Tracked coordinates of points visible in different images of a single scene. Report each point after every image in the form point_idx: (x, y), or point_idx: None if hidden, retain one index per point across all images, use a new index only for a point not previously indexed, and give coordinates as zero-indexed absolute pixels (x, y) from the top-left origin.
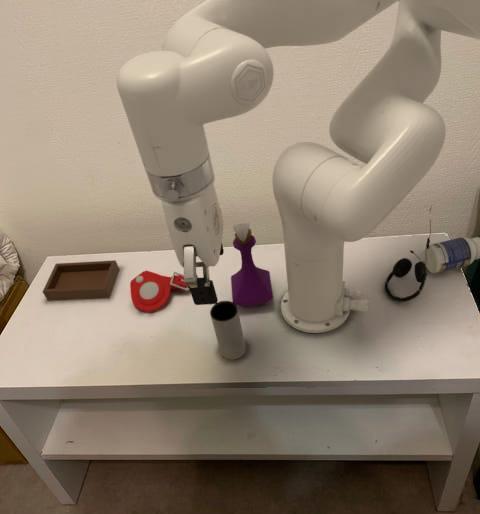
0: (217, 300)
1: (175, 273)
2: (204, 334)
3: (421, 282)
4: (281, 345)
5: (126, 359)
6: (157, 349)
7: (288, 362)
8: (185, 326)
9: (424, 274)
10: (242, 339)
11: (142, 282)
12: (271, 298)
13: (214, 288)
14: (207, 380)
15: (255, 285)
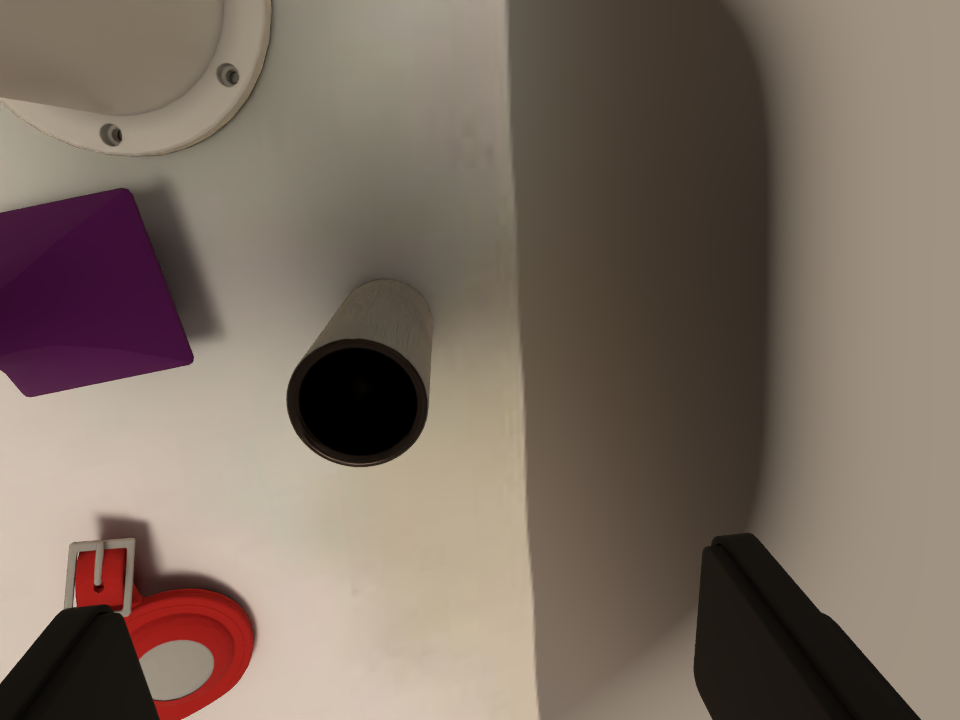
0: (734, 537)
1: None
2: None
3: None
4: (348, 140)
5: (448, 632)
6: (404, 561)
7: (429, 104)
8: (298, 502)
9: None
10: (388, 294)
11: None
12: (129, 195)
13: (821, 657)
14: (518, 386)
15: (84, 277)
